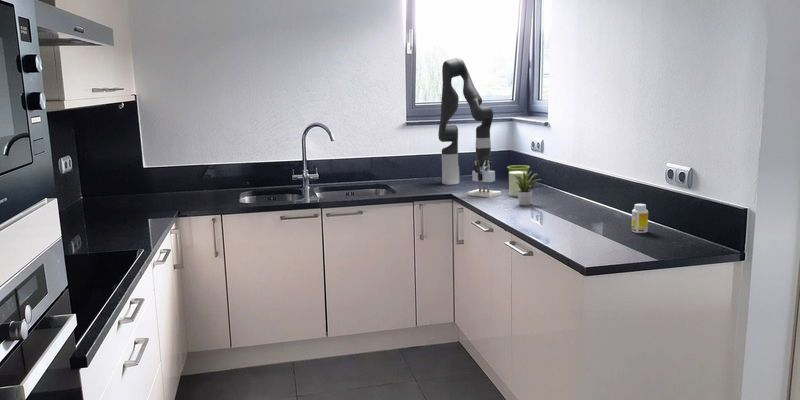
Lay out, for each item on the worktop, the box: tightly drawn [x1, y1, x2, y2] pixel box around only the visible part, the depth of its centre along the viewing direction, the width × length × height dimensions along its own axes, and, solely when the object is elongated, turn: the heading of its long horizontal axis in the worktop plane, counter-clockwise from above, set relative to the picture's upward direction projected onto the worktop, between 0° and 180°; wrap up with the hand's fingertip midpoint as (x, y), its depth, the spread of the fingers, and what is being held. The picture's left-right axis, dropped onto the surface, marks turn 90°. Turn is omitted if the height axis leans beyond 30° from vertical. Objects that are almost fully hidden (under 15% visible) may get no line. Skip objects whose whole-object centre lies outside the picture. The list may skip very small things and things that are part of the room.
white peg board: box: [466, 185, 502, 198], centre depth 321 cm, size 10×14×4 cm
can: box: [508, 171, 528, 198], centre depth 317 cm, size 9×9×12 cm
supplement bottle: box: [631, 203, 649, 234], centre depth 232 cm, size 6×6×10 cm
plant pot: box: [506, 164, 530, 174], centre depth 339 cm, size 12×12×11 cm
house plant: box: [513, 170, 543, 206], centre depth 290 cm, size 14×14×16 cm
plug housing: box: [471, 169, 496, 183], centre depth 320 cm, size 5×10×5 cm, turn 48°
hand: (483, 179), depth 320 cm, fingers closed on plug housing, 5 cm apart
